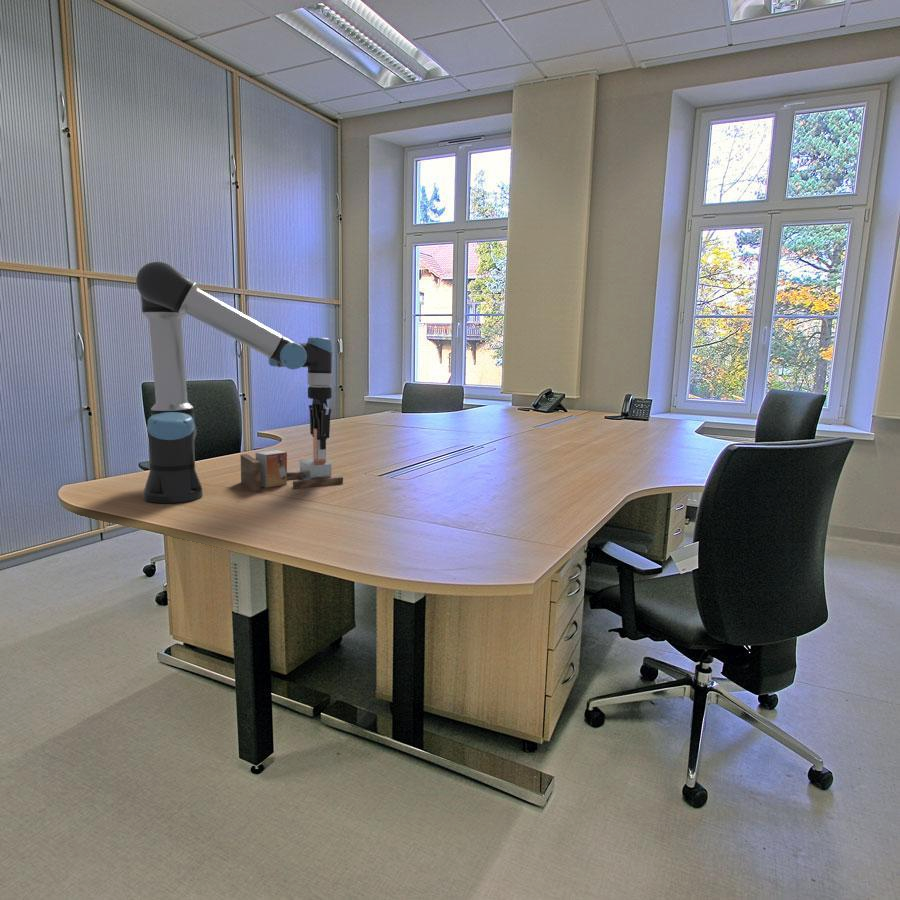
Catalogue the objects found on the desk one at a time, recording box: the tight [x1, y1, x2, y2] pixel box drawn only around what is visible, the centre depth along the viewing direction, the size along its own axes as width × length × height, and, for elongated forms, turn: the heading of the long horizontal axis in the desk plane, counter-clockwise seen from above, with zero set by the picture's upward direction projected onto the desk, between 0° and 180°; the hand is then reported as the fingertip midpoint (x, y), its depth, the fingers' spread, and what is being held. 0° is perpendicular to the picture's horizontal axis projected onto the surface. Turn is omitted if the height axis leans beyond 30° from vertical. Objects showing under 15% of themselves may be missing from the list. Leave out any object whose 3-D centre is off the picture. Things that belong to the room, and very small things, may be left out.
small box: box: [255, 449, 288, 489], centre depth 188 cm, size 8×6×10 cm
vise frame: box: [240, 453, 344, 493], centre depth 192 cm, size 28×15×9 cm, turn 123°
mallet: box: [299, 428, 332, 480], centre depth 196 cm, size 7×10×17 cm
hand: (319, 457), depth 197 cm, fingers closed on mallet, 3 cm apart
